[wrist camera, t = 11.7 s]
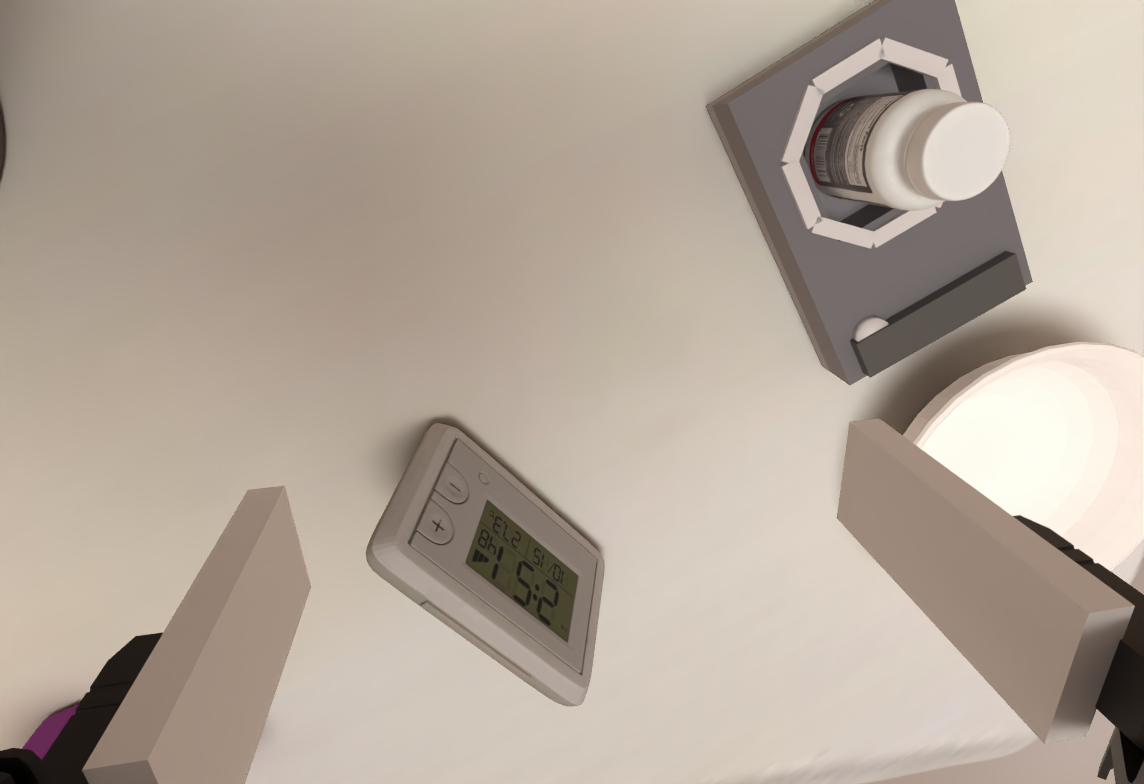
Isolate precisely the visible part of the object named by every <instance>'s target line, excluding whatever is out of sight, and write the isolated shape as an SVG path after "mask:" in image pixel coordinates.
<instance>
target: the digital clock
mask: <svg viewBox="0 0 1144 784" xmlns="http://www.w3.org/2000/svg"><path fill="white" fill-rule="evenodd" d="M366 558H367V562H368V564H369V566H370V567H371V568H372V570H373V571H374V572H376V573H377V574H378V575H379V576H380V577H382V578H383V579H384V580H386V581H387V582H388V583H390V584H391V585H392V586H394V587H395V588H396V589H398V590H399V591H400V592H402V593H403V594H404V595H406V596H407V597H408V598H410V599H411V600H412V601H414V602H415V603H417V604H418V605H419V606H421V607H422V608H424V609H425V610H426V611H428V612H429V613H430V614H432V615H433V616H435V617H436V618H437V619H439V620H440V621H442V622H443V623H444V624H446V625H447V626H448V627H450V628H451V629H453V630H454V631H455V632H457V633H458V634H460V635H461V636H462V637H464V638H465V639H467V640H468V641H469V642H471V643H472V644H473V645H475V646H476V647H478V648H479V649H480V650H482V651H483V652H485V653H486V654H487V655H489V656H490V657H491V658H493V659H494V660H496V661H497V662H498V663H500V664H501V665H503V666H504V667H505V668H507V669H508V670H509V671H511V672H512V673H514V674H515V675H516V676H518V677H519V678H521V679H522V680H523V681H525V682H526V683H528V684H529V685H531V686H532V687H533V688H535V689H536V690H538V691H539V692H541V693H542V694H544V695H545V696H547V697H548V698H550V699H551V700H553V701H555V702H557V703H559V704H561V705H564V706H578V705H581V704H582V703H583V701H584V698H585V695H586V693H587V690H588V686H589V682H590V678H591V672H592V665H593V657H594V649H595V641H596V633H597V625H598V617H599V609H600V601H601V593H602V585H603V577H604V560H603V557H602V555H601V554H600V553H599V551H598V550H597V549H596V548H595V547H593V546H592V545H591V544H590V543H589V542H588V541H587V540H586V539H585V538H584V537H582V536H581V535H580V534H579V533H578V532H577V531H576V530H574V529H573V528H572V527H571V526H570V525H569V524H568V523H566V522H565V521H564V520H563V519H562V518H561V517H560V516H558V515H557V514H556V513H555V512H554V511H553V510H552V509H550V508H549V507H548V506H547V505H546V504H545V503H544V502H542V501H541V500H540V499H539V498H538V497H537V496H536V495H534V494H533V493H532V492H531V491H530V490H529V489H528V488H526V487H525V486H524V485H523V484H522V483H521V482H520V481H518V480H517V479H516V478H515V477H514V476H513V475H512V474H510V473H509V472H508V471H507V470H506V469H505V468H503V467H502V466H501V465H500V464H499V463H498V462H497V461H495V460H494V459H493V458H492V457H491V456H490V455H489V454H487V453H486V452H485V451H484V450H483V449H482V448H481V447H479V446H478V445H477V444H476V443H475V442H474V441H472V440H471V439H470V438H469V437H468V436H466V435H465V434H464V433H463V432H461V431H460V430H459V429H457V428H456V427H452V426H449V425H445V424H441V423H435V424H433V425H432V426H431V427H430V428H429V429H428V430H427V431H426V433H425V434H424V436H423V438H422V439H421V441H420V443H419V445H418V447H417V449H416V451H415V453H414V455H413V456H412V458H411V460H410V462H409V464H408V466H407V468H406V470H405V472H404V474H403V476H402V478H401V480H400V482H399V484H398V486H397V487H396V489H395V491H394V493H393V495H392V497H391V499H390V501H389V503H388V505H387V507H386V509H385V511H384V513H383V515H382V516H381V518H380V520H379V522H378V524H377V526H376V528H375V530H374V532H373V534H372V537H371V539H370V541H369V543H368V546H367V550H366Z"/></svg>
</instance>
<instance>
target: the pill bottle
mask: <svg viewBox="0 0 1144 784" xmlns="http://www.w3.org/2000/svg"><path fill="white" fill-rule="evenodd" d="M1009 147H1010V133H1009V128H1008V125H1007V123H1006V120H1005V118H1004V117H1003V115H1002V114H1001V113H1000V112H999V111H998V110H997V109H996V108H994V107H993V106H991V105H989V104H986V103H981V102H967V101H966V100H965V99H963V98H962V97H960V96H959V95H957V94H955V93H953V92H950V91H946V90H940V89H922V90H913V91H905V92H894V93H886V94H877V95H866V96H857V97H851V98H847V99H844V100H841V101H839V102H837V103H835V104H834V105H832V106H831V107H829V108H828V109H827V110H826V111H824V112H823V113H822V114H821V115H820V117H819V118H818V119H817V121H816V122H815V124H814V125H813V127H812V129H811V131H810V133H809V135H808V138H807V142H806V148H805V160H806V163H807V165H808V168H809V170H810V173H811V175H812V178H813V180H814V183H815V185H816V187H817V188H818V189H819V190H820V191H822V192H823V193H824V194H826V195H828V196H831V197H835V198H839V199H844V200H850V201H856V202H862V203H868V204H873V205H878V206H884V207H889V208H894V209H898V210H908V211H917V210H924V209H928V208H931V207H934V206H936V205H939V204H941V203H942V202H944V201H960V200H965V199H968V198H971V197H974V196H976V195H978V194H979V193H981V192H982V191H984V190H985V189H986V188H987V187H989V186H990V185H991V184H992V183H993V182H994V180H995V179H996V178H997V177H998V175H999V174H1000V172H1001V170H1002V168H1003V166H1004V164H1005V162H1006V159H1007V156H1008V153H1009Z"/></svg>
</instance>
